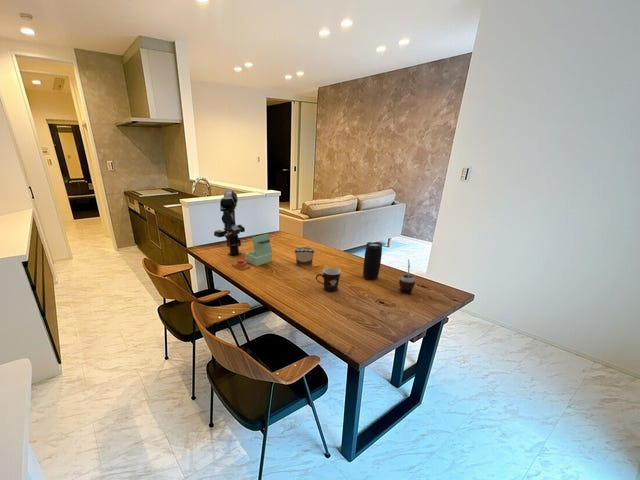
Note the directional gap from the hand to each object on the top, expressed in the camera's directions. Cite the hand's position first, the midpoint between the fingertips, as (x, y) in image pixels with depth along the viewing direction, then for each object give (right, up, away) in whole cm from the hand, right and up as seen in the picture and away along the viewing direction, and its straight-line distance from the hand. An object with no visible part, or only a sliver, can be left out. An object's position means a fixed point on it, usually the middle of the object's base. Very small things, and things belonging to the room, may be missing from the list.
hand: (230, 245), depth 181 cm
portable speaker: (+80, -20, -17) cm, 84 cm away
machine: (+17, -9, +10) cm, 21 cm away
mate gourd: (+92, -27, -32) cm, 101 cm away
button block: (+6, -13, +2) cm, 15 cm away
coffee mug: (+54, -26, -28) cm, 66 cm away
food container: (+45, -11, +5) cm, 47 cm away
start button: (+6, -11, +1) cm, 12 cm away
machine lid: (+19, 0, +3) cm, 19 cm away
